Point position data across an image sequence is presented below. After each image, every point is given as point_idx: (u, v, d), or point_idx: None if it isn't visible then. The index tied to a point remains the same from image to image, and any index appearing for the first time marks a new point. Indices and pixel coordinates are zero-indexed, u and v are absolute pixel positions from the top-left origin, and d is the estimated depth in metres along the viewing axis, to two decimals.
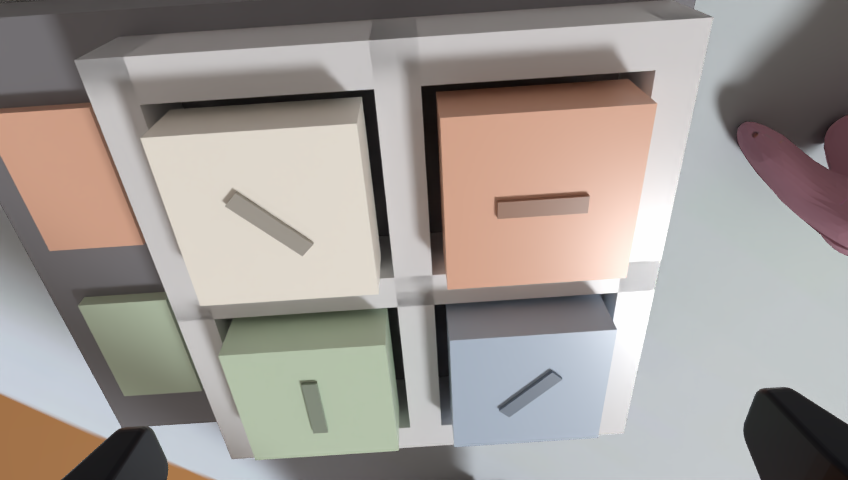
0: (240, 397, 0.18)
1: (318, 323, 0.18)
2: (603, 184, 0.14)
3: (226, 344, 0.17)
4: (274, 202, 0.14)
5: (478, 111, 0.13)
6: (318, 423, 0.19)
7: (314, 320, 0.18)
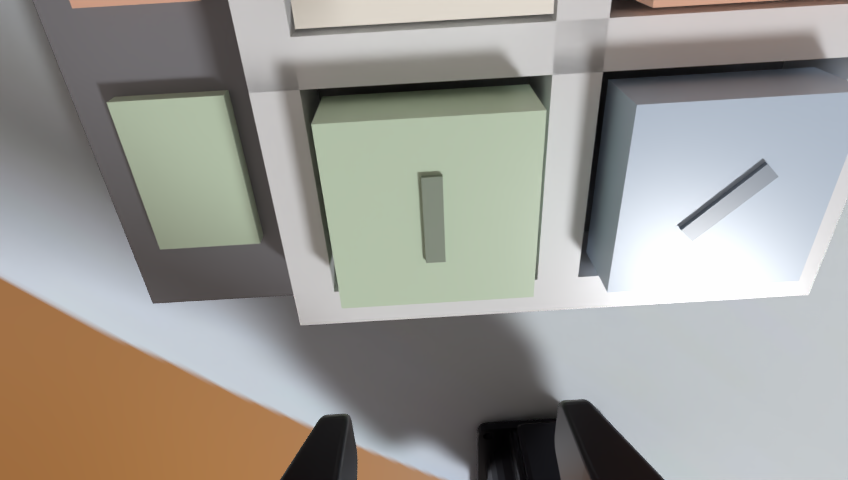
0: (333, 201, 0.13)
1: (442, 99, 0.13)
2: None
3: (319, 116, 0.13)
4: None
5: None
6: (435, 246, 0.14)
7: (434, 97, 0.13)
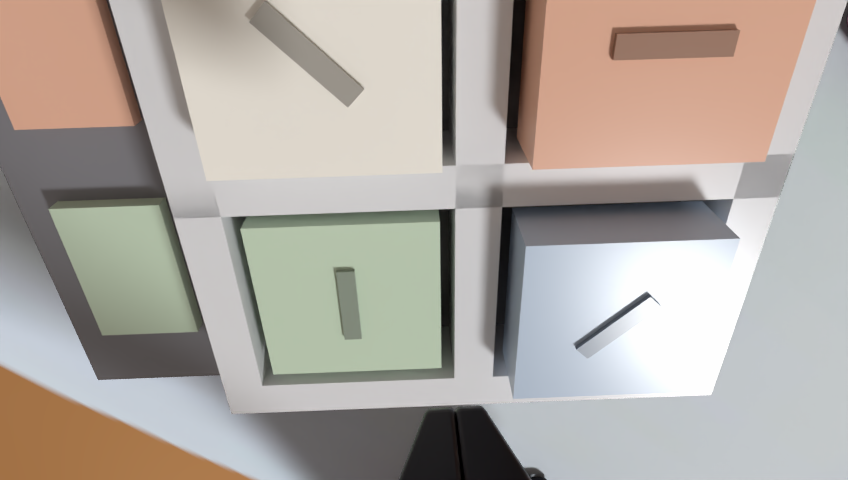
0: (261, 288, 0.15)
1: None
2: (759, 14, 0.11)
3: (249, 219, 0.15)
4: (317, 22, 0.10)
5: None
6: (351, 326, 0.16)
7: None
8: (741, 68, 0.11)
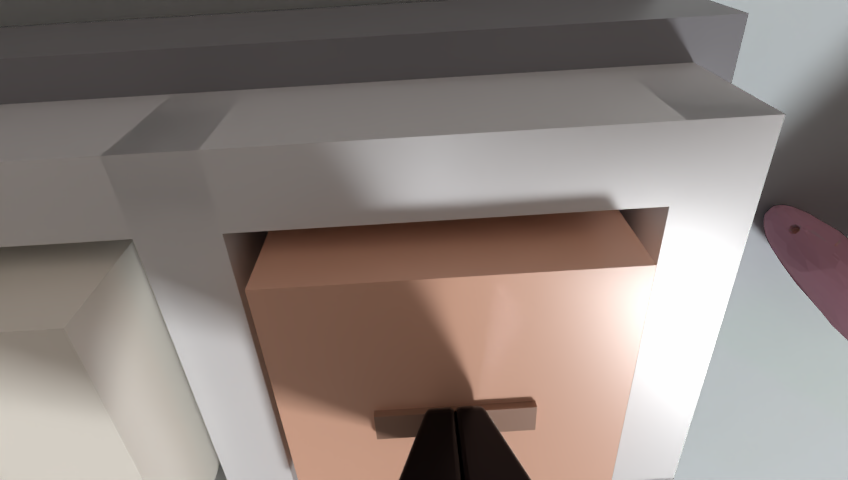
0: None
1: None
2: (561, 388, 0.08)
3: None
4: None
5: (324, 271, 0.07)
6: None
7: None
8: (551, 434, 0.09)
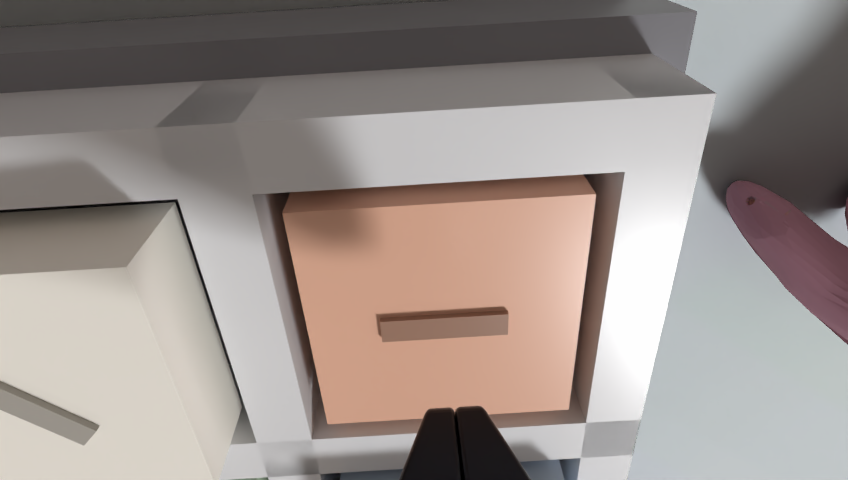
0: None
1: None
2: (528, 298, 0.10)
3: None
4: (22, 376, 0.09)
5: (342, 201, 0.09)
6: None
7: None
8: (521, 340, 0.11)
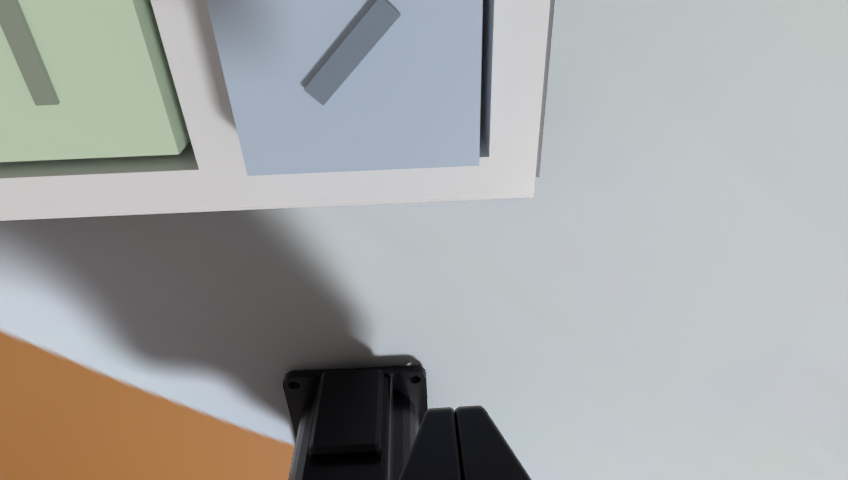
0: None
1: None
2: None
3: None
4: None
5: None
6: (37, 83, 0.12)
7: None
8: None
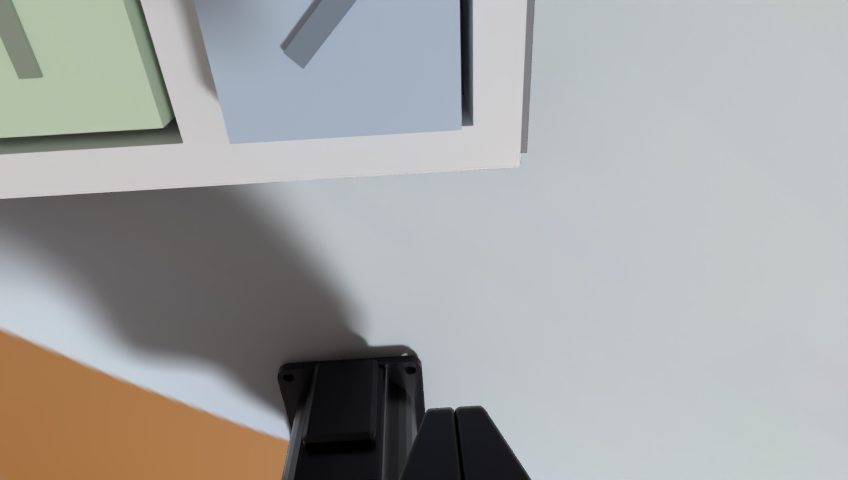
0: None
1: None
2: None
3: None
4: None
5: None
6: (20, 56, 0.12)
7: None
8: None
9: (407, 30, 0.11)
